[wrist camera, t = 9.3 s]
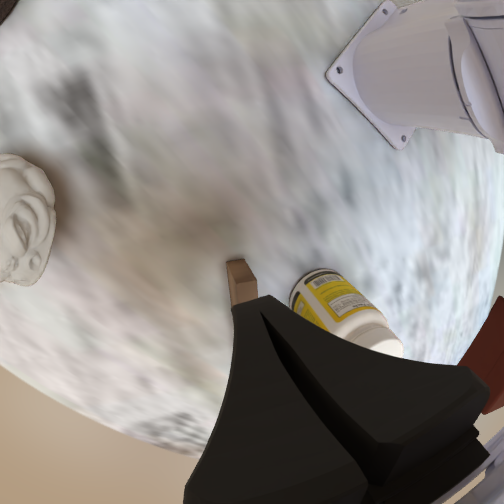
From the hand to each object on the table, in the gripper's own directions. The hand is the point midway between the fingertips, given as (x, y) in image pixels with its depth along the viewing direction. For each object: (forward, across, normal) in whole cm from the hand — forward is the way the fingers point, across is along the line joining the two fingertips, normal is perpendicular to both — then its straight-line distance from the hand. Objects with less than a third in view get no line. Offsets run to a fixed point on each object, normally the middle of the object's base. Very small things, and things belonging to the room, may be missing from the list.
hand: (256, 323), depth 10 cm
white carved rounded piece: (+10, +10, -5) cm, 15 cm away
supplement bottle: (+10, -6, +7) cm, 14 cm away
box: (+10, -41, +32) cm, 53 cm away
